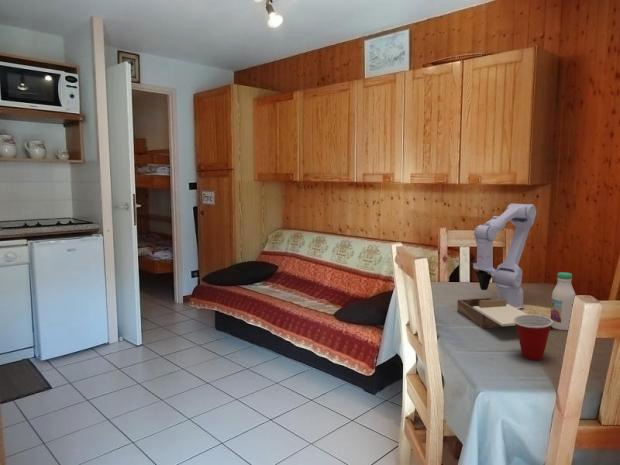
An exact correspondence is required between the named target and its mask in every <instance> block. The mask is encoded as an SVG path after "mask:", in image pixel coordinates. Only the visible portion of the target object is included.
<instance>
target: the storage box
mask: <svg viewBox="0 0 620 465" xmlns="http://www.w3.org/2000/svg"><path fill="white" fill-rule="evenodd" d="M481 300H494V299H493V298H491V297H483V298H482V297H481V298H466V299H465V298H464V299H457V312H458V313H459V314H460V315H462V317H465V318H466V319H468V320H469V321H471V322H472V323H474V324H475V325H477V326H478V327H480V328H482V329H490V328H491V329H493V328H503V327H504V328H505V327H507V326H501V325H500V324H498V323H496V322H495V321H493V320H491V319H490V318H488V317H486V316H485V315H483V314H481V313H480V312H478V311H476V310H475V309H473V307H474V306H479V301H481ZM511 327H517V326H516V325H512V326H511Z"/></svg>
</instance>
